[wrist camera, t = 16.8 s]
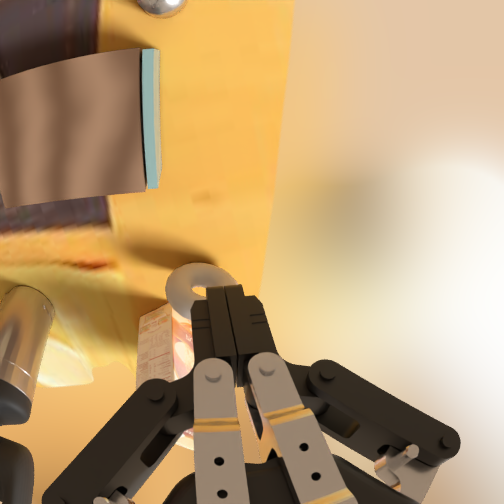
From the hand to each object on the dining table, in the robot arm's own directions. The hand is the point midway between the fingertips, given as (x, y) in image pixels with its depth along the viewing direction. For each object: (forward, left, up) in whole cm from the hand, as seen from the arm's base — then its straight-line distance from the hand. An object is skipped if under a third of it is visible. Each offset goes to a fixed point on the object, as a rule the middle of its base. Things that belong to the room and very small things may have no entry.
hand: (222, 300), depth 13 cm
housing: (-14, +4, -25) cm, 29 cm away
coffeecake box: (-4, -32, -25) cm, 41 cm away
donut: (0, -18, -25) cm, 31 cm away
